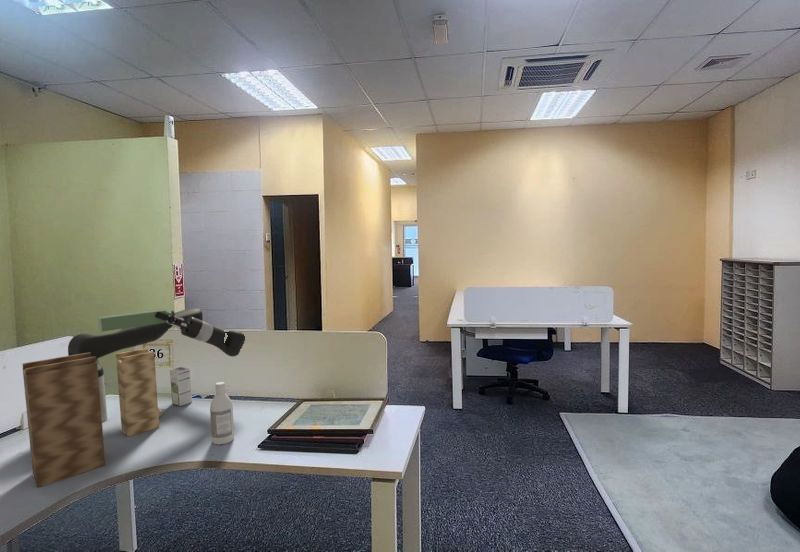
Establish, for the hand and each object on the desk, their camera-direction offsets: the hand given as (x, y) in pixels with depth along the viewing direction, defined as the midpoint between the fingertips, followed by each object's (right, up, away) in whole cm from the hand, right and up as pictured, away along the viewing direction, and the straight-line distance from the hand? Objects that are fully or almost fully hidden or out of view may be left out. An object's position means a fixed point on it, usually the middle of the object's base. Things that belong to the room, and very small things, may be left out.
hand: (154, 313), depth 158 cm
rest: (-5, -42, -1) cm, 42 cm away
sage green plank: (-4, -4, -3) cm, 6 cm away
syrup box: (-1, -40, +23) cm, 46 cm away
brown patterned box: (-9, -44, -28) cm, 53 cm away
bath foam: (+29, -42, -11) cm, 53 cm away
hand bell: (-7, -41, +10) cm, 43 cm away
